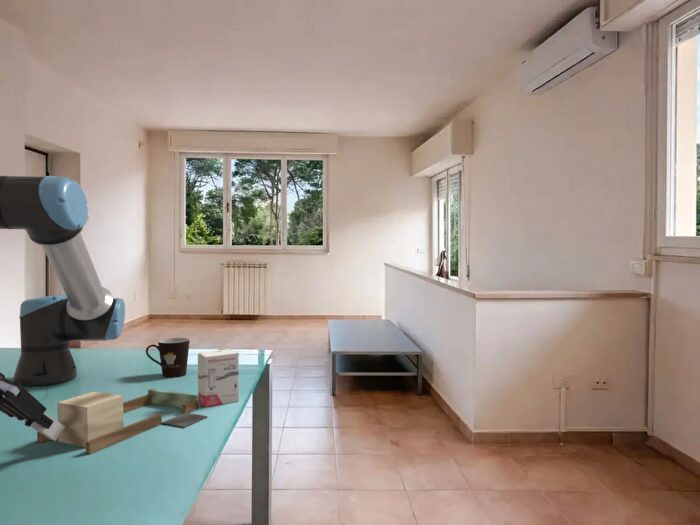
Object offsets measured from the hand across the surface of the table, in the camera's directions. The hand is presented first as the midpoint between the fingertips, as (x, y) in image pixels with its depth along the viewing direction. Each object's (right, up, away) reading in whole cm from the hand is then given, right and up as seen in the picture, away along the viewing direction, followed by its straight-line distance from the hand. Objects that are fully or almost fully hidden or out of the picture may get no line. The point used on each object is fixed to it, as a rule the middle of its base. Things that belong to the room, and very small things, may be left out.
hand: (57, 433), depth 92 cm
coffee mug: (+1, -2, +56) cm, 56 cm away
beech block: (+3, -3, +7) cm, 8 cm away
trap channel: (+6, -3, +14) cm, 16 cm away
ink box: (+22, -3, +29) cm, 36 cm away
